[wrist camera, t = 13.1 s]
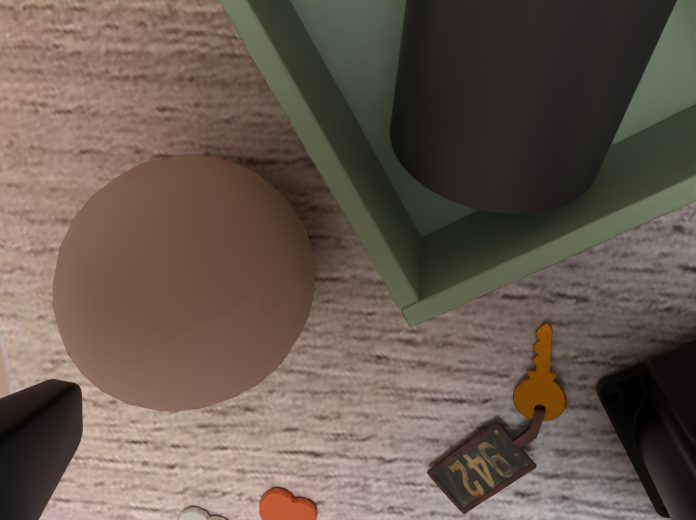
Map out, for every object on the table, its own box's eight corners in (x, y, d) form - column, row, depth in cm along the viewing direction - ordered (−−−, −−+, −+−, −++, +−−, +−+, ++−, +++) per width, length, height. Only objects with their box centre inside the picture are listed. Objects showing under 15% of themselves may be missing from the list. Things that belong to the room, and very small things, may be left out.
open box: (752, 91, 18) (878, 121, 13) (414, 254, 21) (410, 329, 16) (606, -317, 15) (694, -479, 10) (238, -59, 18) (167, -86, 13)
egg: (118, 133, 21) (-59, 202, 13) (328, 133, 20) (268, 207, 13) (147, 322, 24) (13, 471, 16) (334, 329, 23) (286, 490, 15)
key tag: (485, 519, 25) (484, 529, 24) (422, 474, 25) (419, 482, 24) (617, 364, 22) (619, 371, 21) (543, 316, 22) (543, 321, 22)
